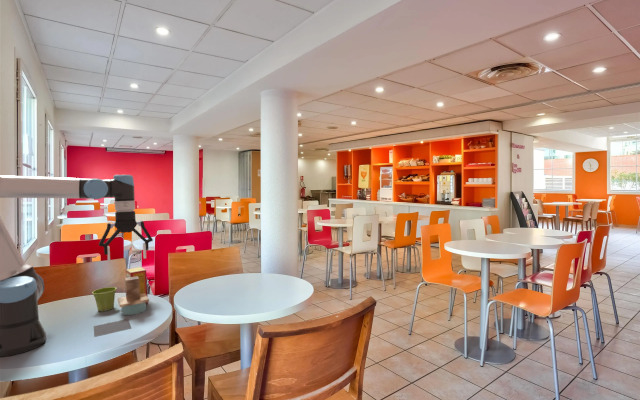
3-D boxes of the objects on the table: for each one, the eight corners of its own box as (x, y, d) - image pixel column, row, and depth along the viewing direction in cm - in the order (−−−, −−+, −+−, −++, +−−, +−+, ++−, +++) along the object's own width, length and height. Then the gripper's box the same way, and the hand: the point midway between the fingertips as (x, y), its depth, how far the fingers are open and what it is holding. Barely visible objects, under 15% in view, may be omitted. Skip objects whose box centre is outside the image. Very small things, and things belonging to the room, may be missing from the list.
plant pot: (109, 312, 155) (108, 293, 154) (88, 313, 155) (87, 293, 155) (122, 305, 164) (121, 286, 164) (102, 305, 164) (100, 287, 164)
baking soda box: (127, 301, 169) (125, 268, 168) (142, 298, 173) (140, 266, 173) (132, 306, 162) (130, 272, 161) (148, 303, 166) (146, 269, 165)
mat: (94, 338, 129) (94, 336, 129) (93, 327, 139) (93, 326, 139) (131, 329, 135) (131, 328, 135) (128, 320, 145) (128, 318, 145)
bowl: (123, 317, 148) (122, 306, 148) (121, 311, 156) (120, 300, 155) (147, 312, 153) (146, 301, 153) (144, 307, 161) (143, 296, 160)
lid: (119, 307, 146) (118, 283, 146) (117, 300, 156) (116, 277, 155) (149, 301, 152) (147, 278, 152) (145, 295, 162) (144, 273, 161)
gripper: (90, 213, 142) (93, 265, 143) (158, 209, 155) (160, 257, 156) (90, 212, 148) (92, 262, 149) (155, 208, 162) (157, 255, 163)
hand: (127, 260), depth 153 cm, fingers open, 13 cm apart
